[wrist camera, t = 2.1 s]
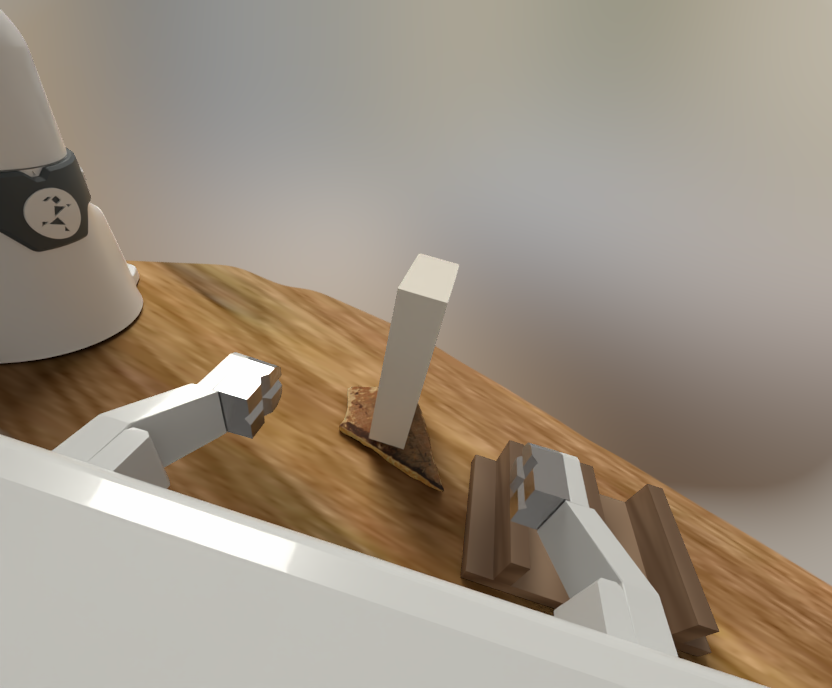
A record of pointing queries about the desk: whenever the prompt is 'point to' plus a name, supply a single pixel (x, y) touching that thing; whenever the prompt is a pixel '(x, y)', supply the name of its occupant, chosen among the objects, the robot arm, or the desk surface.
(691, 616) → the drying rack
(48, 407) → the desk surface
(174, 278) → the desk surface
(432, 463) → the shard
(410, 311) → the clay bar
